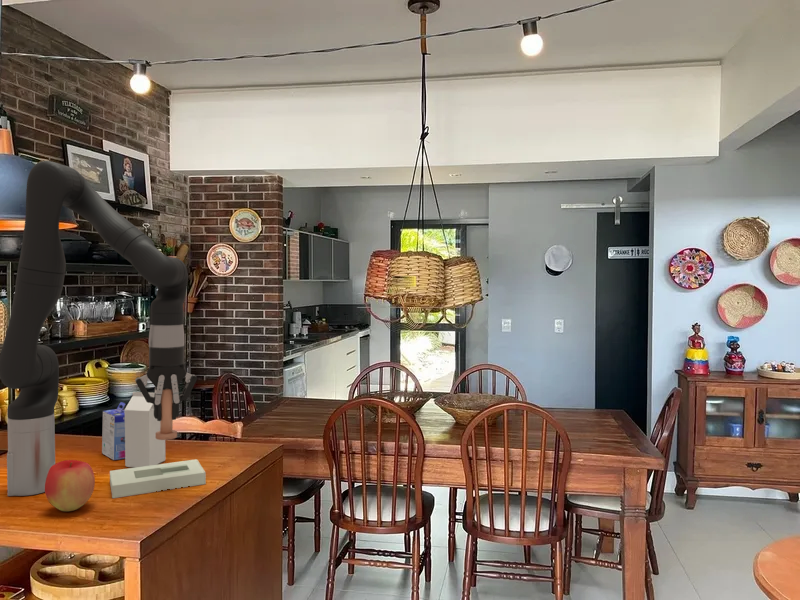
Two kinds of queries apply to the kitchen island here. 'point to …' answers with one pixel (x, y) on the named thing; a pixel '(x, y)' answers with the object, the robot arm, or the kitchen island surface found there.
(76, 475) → the apple
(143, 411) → the milk carton
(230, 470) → the kitchen island surface
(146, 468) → the keyhole board
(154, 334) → the robot arm
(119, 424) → the ink cartridge box
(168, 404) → the headed peg
